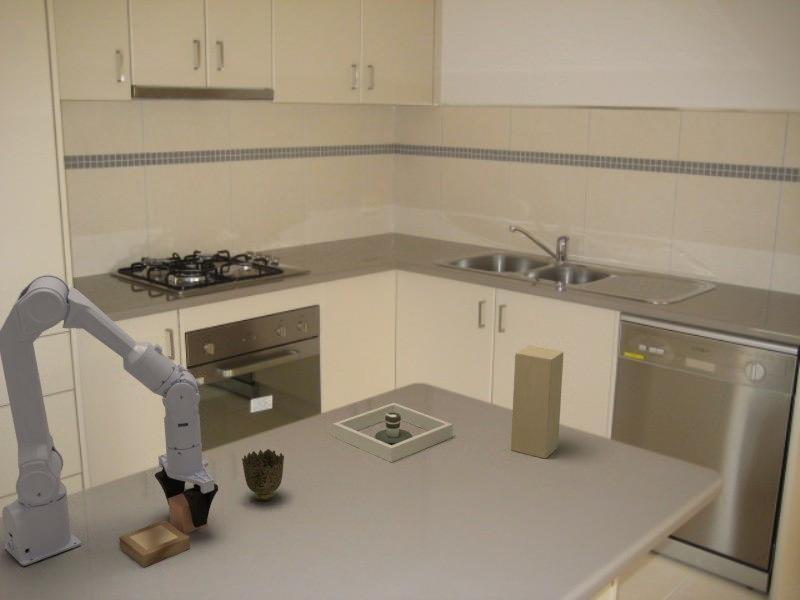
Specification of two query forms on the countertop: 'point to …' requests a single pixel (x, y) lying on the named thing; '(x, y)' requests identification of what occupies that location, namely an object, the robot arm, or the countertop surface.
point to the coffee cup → (392, 430)
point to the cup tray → (434, 435)
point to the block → (181, 514)
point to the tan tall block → (536, 401)
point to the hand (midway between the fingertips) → (188, 517)
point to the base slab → (154, 543)
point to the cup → (263, 473)
